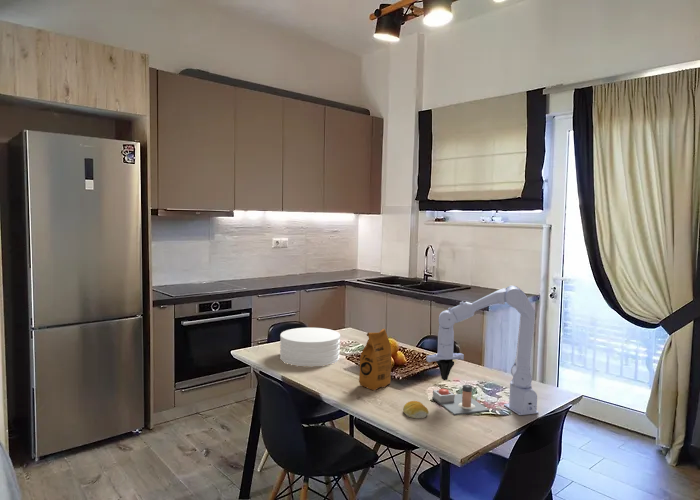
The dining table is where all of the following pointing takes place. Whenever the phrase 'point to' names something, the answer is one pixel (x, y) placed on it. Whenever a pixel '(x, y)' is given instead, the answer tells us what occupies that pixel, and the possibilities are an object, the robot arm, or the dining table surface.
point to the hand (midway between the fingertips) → (444, 379)
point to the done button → (443, 391)
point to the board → (457, 403)
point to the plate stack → (310, 346)
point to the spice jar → (466, 395)
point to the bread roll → (415, 409)
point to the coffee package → (376, 361)
